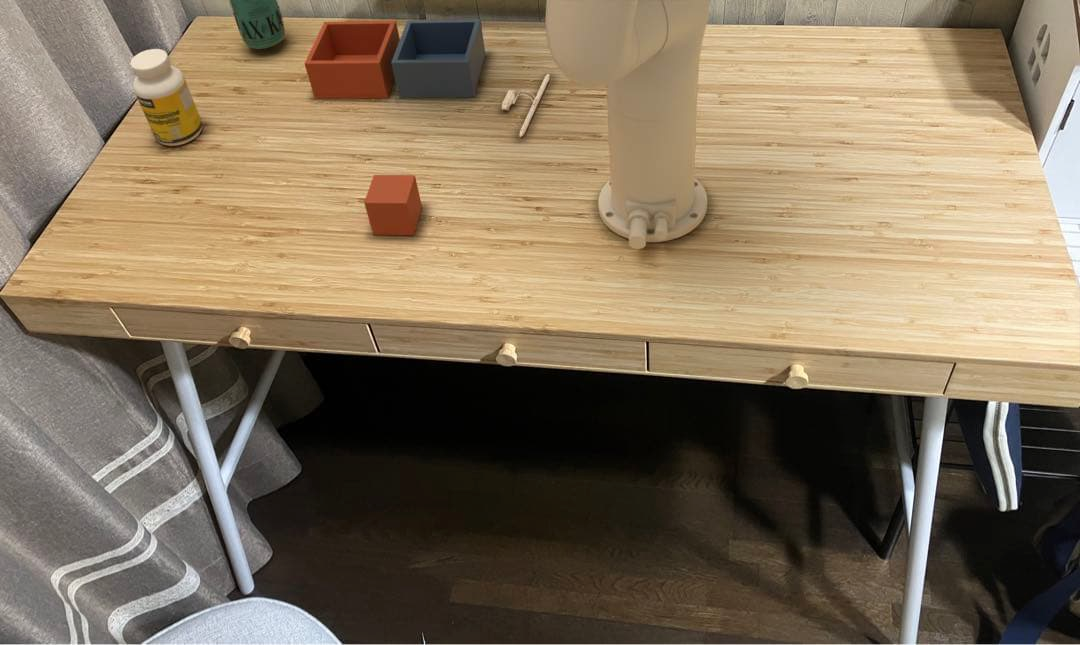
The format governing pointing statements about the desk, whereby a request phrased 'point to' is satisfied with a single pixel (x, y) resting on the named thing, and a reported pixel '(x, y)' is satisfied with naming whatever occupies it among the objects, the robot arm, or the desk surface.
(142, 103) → the pill bottle
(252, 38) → the beverage bottle
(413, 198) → the terracotta block
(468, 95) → the blue bin
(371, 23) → the terracotta bin
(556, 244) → the desk surface
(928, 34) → the desk surface
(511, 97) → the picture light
